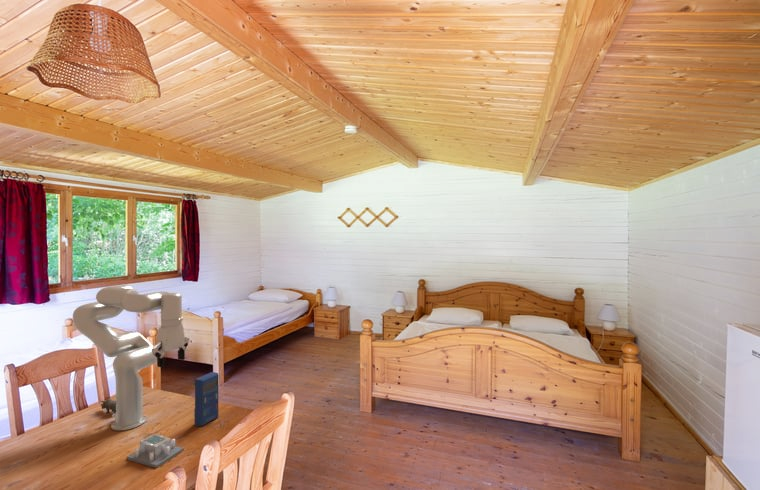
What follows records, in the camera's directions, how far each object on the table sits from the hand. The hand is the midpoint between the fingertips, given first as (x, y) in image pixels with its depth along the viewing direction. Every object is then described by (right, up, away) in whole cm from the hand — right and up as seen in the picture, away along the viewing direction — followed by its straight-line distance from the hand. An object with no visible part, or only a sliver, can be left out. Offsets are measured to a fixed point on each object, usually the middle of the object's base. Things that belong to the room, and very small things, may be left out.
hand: (171, 363), depth 148 cm
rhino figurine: (-38, -29, +16) cm, 50 cm away
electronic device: (+11, -29, +8) cm, 32 cm away
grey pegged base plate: (+5, -28, -17) cm, 34 cm away
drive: (+4, -27, -17) cm, 33 cm away
